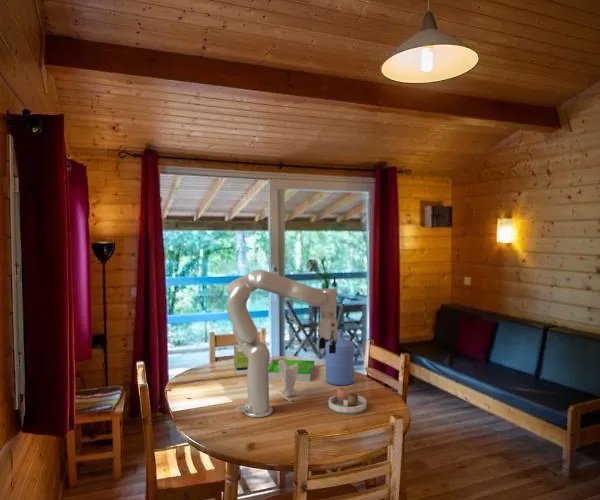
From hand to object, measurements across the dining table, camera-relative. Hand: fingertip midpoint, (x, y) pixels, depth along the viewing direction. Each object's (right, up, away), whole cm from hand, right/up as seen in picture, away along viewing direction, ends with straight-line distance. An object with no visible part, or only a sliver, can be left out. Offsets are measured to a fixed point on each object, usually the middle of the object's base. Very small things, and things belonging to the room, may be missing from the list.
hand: (327, 350), depth 215 cm
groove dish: (+9, -25, -7) cm, 27 cm away
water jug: (+9, -24, +31) cm, 40 cm away
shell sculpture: (-19, -25, +9) cm, 32 cm away
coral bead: (+7, -23, -3) cm, 25 cm away
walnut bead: (+11, -24, -11) cm, 28 cm away
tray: (-18, -24, +45) cm, 54 cm away
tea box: (-46, -24, +48) cm, 71 cm away
